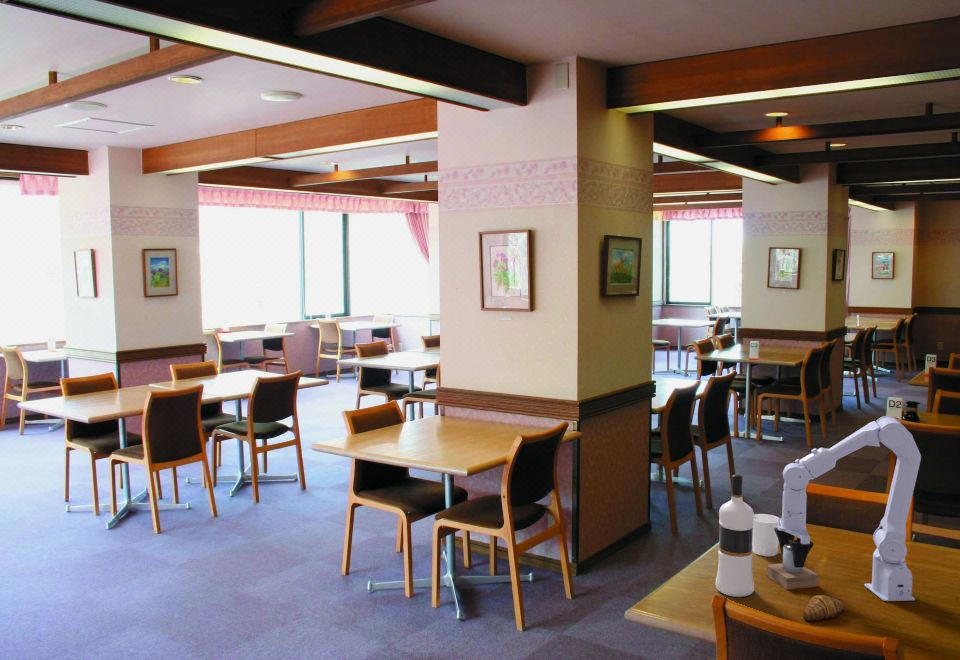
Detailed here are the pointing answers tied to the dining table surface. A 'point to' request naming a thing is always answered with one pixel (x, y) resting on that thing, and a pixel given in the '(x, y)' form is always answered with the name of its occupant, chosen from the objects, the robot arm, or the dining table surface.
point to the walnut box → (792, 577)
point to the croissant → (822, 608)
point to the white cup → (765, 535)
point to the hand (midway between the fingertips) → (792, 561)
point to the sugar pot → (789, 560)
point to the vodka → (735, 544)
